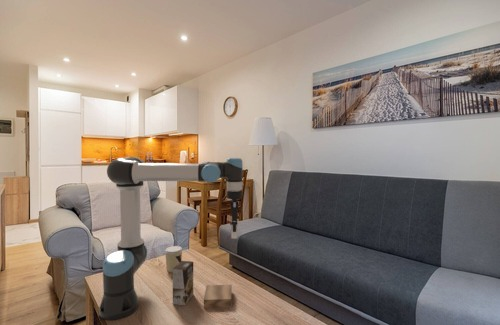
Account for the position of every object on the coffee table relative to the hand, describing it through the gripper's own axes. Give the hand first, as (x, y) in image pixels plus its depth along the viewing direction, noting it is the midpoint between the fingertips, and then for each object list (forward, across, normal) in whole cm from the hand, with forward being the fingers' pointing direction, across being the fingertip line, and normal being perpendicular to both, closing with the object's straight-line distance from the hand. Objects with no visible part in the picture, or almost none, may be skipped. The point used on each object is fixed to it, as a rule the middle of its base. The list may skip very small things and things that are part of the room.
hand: (234, 233), depth 127 cm
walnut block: (+28, -8, +7) cm, 30 cm away
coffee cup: (+28, +23, +34) cm, 50 cm away
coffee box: (+28, -7, +23) cm, 37 cm away
